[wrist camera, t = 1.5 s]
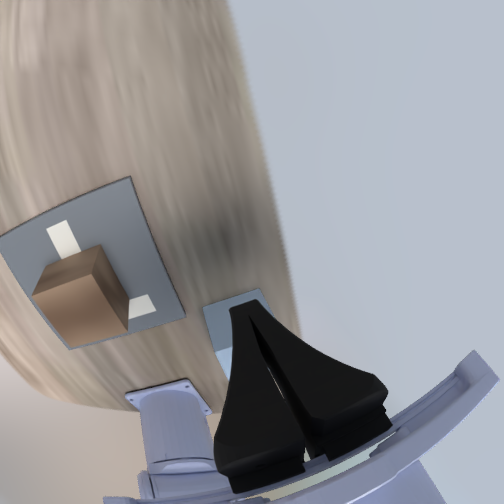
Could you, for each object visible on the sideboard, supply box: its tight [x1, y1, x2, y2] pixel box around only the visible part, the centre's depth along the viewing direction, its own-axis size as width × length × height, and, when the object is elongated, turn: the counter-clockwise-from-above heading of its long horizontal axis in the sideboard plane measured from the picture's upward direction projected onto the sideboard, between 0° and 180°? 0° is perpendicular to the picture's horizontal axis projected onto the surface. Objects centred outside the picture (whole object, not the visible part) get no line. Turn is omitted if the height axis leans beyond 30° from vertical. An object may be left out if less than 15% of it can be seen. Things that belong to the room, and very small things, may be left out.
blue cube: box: [202, 288, 275, 380], centre depth 22 cm, size 5×5×5 cm
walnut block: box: [31, 244, 129, 348], centre depth 16 cm, size 5×5×4 cm
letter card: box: [0, 176, 186, 350], centre depth 18 cm, size 12×12×1 cm
